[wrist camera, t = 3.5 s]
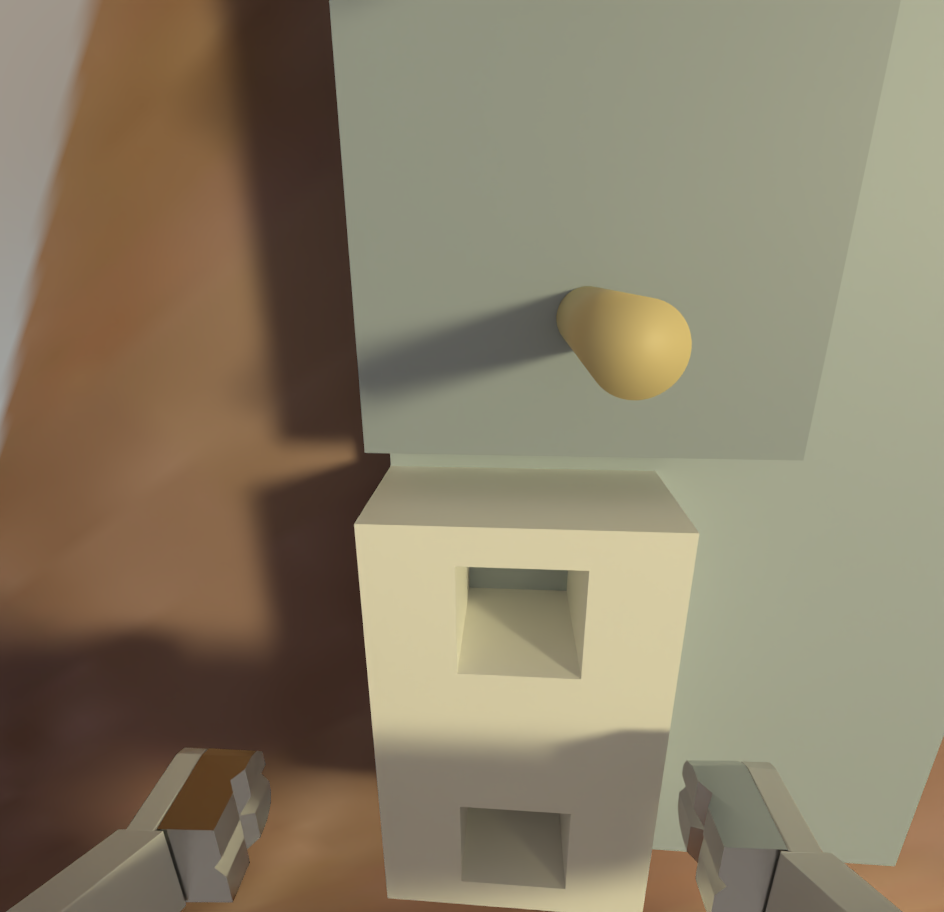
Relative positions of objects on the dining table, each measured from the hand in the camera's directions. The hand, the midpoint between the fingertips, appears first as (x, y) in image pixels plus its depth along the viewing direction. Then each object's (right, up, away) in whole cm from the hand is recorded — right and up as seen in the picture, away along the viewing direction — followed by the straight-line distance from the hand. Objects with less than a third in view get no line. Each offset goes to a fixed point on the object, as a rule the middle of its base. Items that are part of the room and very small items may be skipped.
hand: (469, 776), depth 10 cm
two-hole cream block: (+1, +1, +3) cm, 4 cm away
